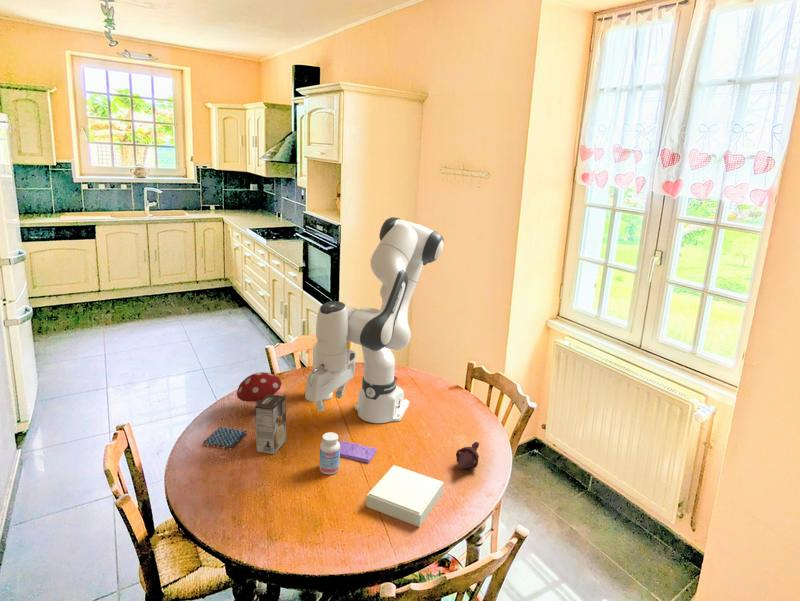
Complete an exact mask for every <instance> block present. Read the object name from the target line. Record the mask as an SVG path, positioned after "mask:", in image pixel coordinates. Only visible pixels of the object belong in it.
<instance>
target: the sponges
mask: <svg viewBox="0 0 800 601" xmlns="http://www.w3.org/2000/svg"><path fill="white" fill-rule="evenodd" d="M339 443H340V457H342V458H345V459H350V460H354V461H359V462H361V463H366V464H370V462H371V461H372V459H374V456H375V455H376V453H377V447H376V448H375V447H371V446H366V445H363V444H359V443H355V442H350V441H347V440H342V439H341V441H340V442H339Z"/></svg>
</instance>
